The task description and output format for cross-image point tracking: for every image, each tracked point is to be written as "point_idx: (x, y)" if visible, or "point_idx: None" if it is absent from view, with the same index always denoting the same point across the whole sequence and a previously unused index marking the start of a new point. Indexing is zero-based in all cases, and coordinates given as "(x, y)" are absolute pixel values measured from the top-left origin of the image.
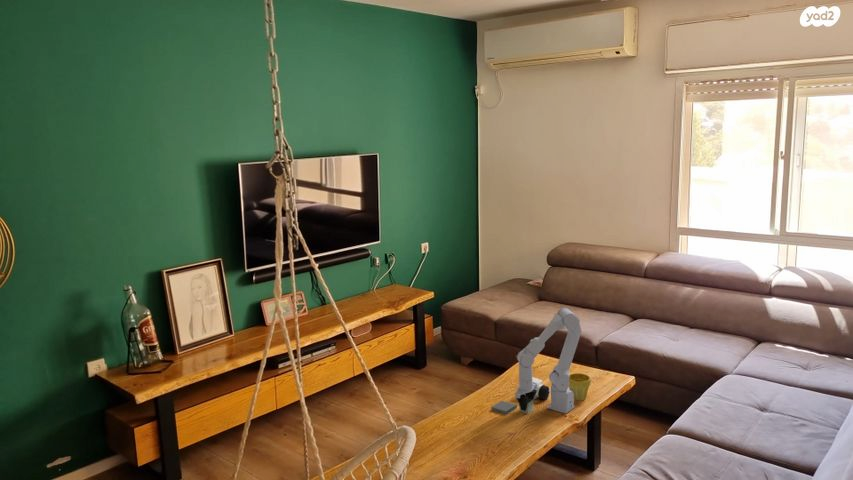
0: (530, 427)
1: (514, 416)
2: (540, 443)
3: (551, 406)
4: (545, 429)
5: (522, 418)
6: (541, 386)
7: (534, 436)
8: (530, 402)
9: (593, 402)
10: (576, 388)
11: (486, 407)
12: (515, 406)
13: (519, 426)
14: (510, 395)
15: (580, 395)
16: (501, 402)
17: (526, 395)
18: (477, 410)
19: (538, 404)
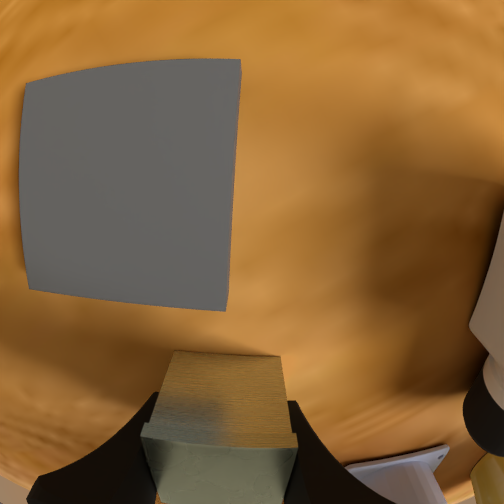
0: (59, 457)
1: (72, 349)
2: (23, 484)
3: (361, 481)
4: None
5: (94, 408)
6: None
7: (30, 471)
8: (212, 502)
9: (454, 499)
10: None
11: (78, 15)
12: (196, 305)
13: (20, 413)
14: (470, 81)
15: (475, 497)
16: (181, 90)
17: (301, 486)
18: (10, 17)
19: (395, 399)
